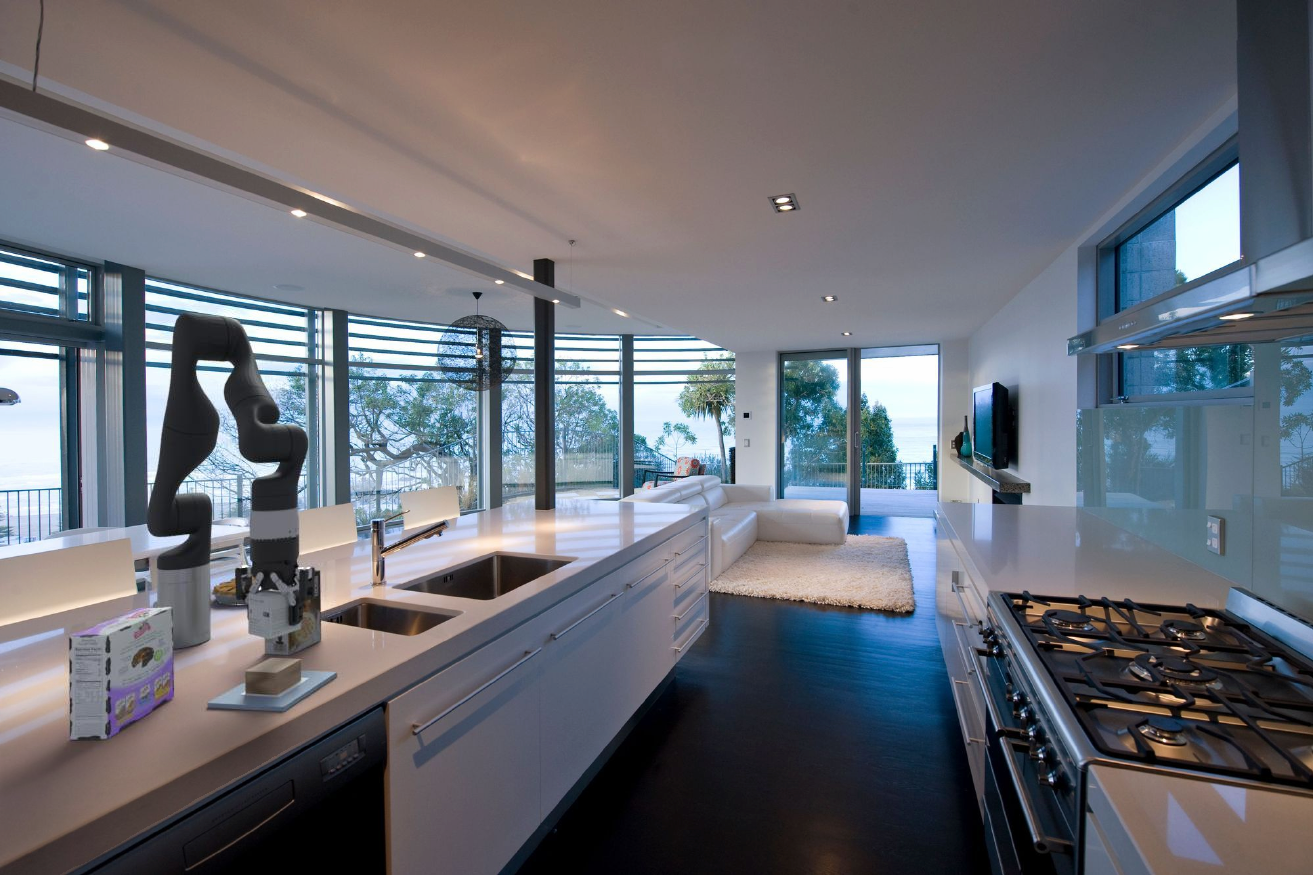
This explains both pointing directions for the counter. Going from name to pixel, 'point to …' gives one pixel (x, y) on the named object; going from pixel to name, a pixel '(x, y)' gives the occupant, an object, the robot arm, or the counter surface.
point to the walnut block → (272, 676)
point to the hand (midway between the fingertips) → (275, 623)
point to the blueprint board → (273, 702)
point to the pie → (228, 592)
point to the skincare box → (269, 614)
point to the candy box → (120, 672)
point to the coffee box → (308, 630)
